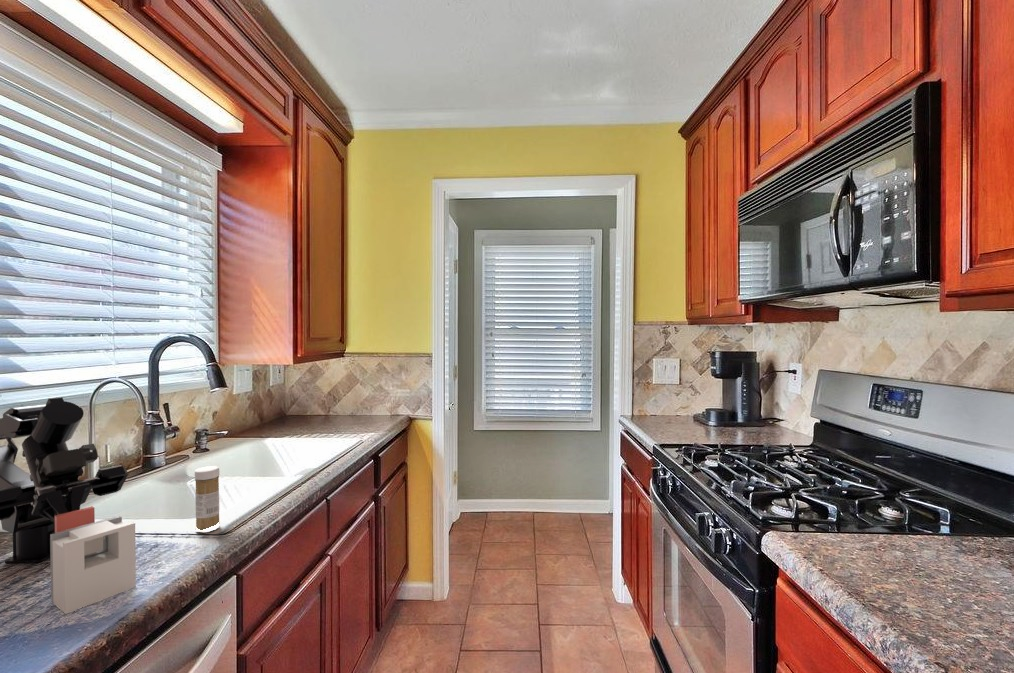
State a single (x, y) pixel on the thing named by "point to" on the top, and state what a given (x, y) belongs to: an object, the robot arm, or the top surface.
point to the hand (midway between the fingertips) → (73, 531)
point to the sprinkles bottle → (207, 496)
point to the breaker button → (77, 520)
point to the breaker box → (92, 563)
